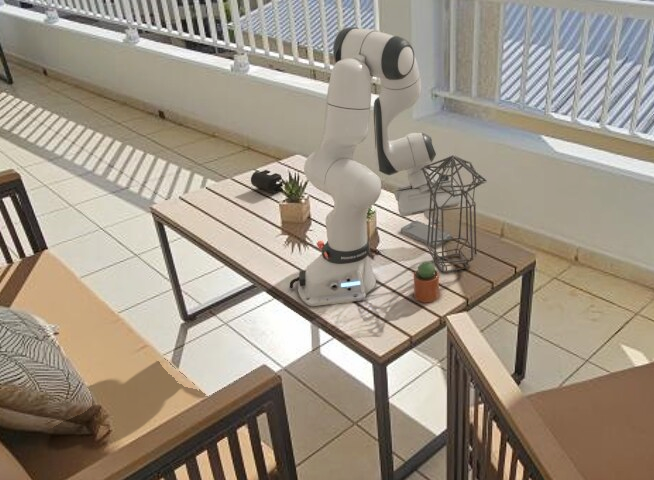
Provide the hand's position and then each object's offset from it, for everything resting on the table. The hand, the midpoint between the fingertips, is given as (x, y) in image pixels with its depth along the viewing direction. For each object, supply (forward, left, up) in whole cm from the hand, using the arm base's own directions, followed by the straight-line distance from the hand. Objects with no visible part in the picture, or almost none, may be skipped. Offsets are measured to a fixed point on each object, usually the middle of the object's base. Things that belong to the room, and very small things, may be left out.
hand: (435, 223), depth 194 cm
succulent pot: (-13, -25, -8) cm, 29 cm away
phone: (-1, +7, -8) cm, 11 cm away
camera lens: (-43, +63, -8) cm, 76 cm away
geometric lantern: (0, -12, -8) cm, 15 cm away
